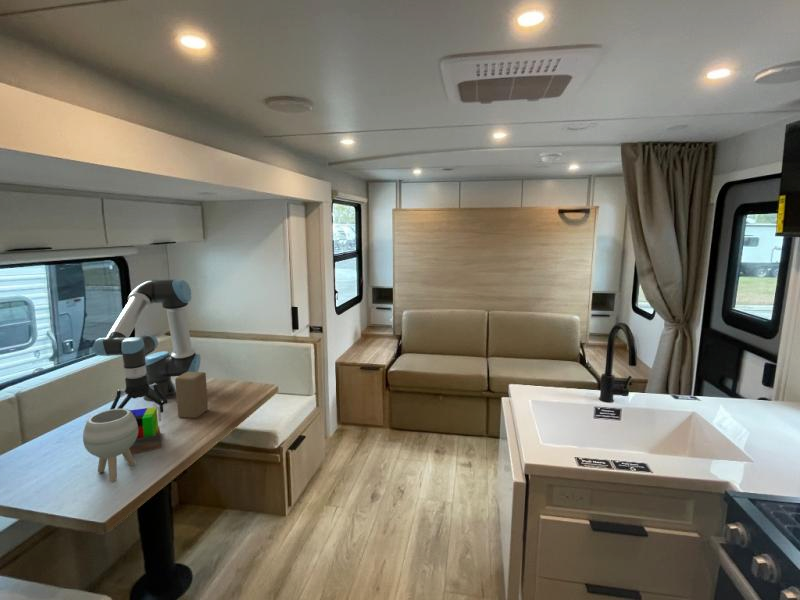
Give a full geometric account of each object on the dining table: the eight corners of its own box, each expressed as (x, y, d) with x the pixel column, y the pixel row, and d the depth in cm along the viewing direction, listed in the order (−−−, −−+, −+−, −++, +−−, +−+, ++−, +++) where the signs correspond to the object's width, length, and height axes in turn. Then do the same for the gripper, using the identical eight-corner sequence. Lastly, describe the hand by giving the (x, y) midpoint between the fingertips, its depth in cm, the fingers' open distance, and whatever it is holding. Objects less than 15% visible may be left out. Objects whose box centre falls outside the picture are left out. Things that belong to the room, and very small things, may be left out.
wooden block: (209, 409, 198) (206, 371, 195) (197, 419, 189) (194, 379, 185) (190, 408, 199) (187, 370, 196) (177, 417, 190) (174, 377, 186)
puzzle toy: (131, 432, 169) (129, 410, 167) (158, 428, 173) (156, 406, 171) (125, 443, 160) (122, 420, 158) (153, 439, 164) (151, 417, 162)
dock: (124, 439, 169) (123, 427, 168) (160, 432, 176) (158, 420, 175) (123, 456, 157) (121, 443, 156) (161, 447, 164) (160, 435, 163)
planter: (85, 471, 146) (78, 415, 143) (136, 455, 157) (131, 402, 154) (91, 492, 135) (84, 431, 131) (146, 473, 146) (141, 416, 142)
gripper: (97, 384, 152) (103, 435, 156) (171, 373, 165) (175, 420, 169) (98, 378, 158) (104, 427, 162) (170, 367, 172) (174, 413, 175)
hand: (141, 423), depth 166 cm, fingers open, 13 cm apart
